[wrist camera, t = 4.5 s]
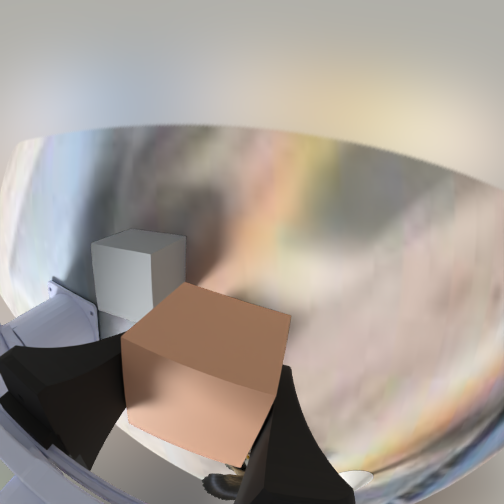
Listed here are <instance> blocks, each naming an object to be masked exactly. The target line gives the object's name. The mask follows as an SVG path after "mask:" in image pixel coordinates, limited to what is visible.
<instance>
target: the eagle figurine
mask: <svg viewBox="0 0 504 504" xmlns="http://www.w3.org/2000/svg"><path fill="white" fill-rule="evenodd" d="M244 461H245V463H246V466H247V464H248V461H249V455H248V454H247V456H246V458H245V460H244ZM225 465H226V467H228V468H229V469H231V470H233V471H234V472H235V473H236V474H237V475H231V474H227V475H222V474H209V475H208V476H207V477H205V478H204V479H203V480H202V482H203V483H204V484H203V487H204V488H205V490H206V491H207V493H209V494H211V495H213V496H214V497H218V498H219V499H220V498H221V499H222V500H235V499H236V496H237V494H238V491H239V488H240V485H241V482H242V479H243V476H244V473H245V471H244V470H241V469H238V468H235V467H234V466H231V465H228V464H225Z"/></svg>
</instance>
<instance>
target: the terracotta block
mask: <svg viewBox="0 0 504 504" xmlns="http://www.w3.org/2000/svg"><path fill="white" fill-rule="evenodd" d="M290 320H291V315H288V314H284V313H281V312H277V311H274V310H271V309H267V308H264V307H261V306H257V305H254V304H251V303H248V302H244V301H241V300H238V299H235V298H232V297H229V296H226V295H222V294H219V293H216V292H213V291H210V290H207V289H204V288H201V287H198V286H195V285H192V284H190V283H187V282H184V283H183V284H181V285H180V286H179V287H178V288H177V289H175V290H174V291H173V292H172V293H171V294H170V295H168V296H167V297H166V298H165V299H164V300H163V301H161V302H160V303H159V304H158V305H157V306H156V307H154V308H153V309H152V310H151V311H150V312H149V313H147V314H146V315H145V316H144V317H143V318H142V319H141V320H139V321H138V322H137V323H136V324H135V325H134V326H133V327H131V328H130V329H129V330H128V331H127V332H126V333H124V334H123V335H122V336H121V353H122V368H123V380H124V390H125V399H126V407H127V414H128V421H129V424H131V425H133V426H135V427H137V428H139V429H141V430H143V431H145V432H147V433H149V434H151V435H153V436H155V437H157V438H160V439H162V440H164V441H166V442H169V443H171V444H173V445H176V446H178V447H181V448H183V449H185V450H188V451H191V452H193V453H196V454H199V455H201V456H204V457H207V458H210V459H213V460H216V461H219V462H222V463H225V464H228V465H232V466H235V467H239V468H241V466H242V464H243V462H244V460H245V458H246V456H247V454H248V453H249V451H250V449H251V447H252V445H253V443H254V441H255V439H256V437H257V435H258V433H259V431H260V429H261V427H262V425H263V423H264V421H265V419H266V417H267V415H268V412H269V410H270V408H271V406H272V404H273V402H274V400H275V397H276V394H277V389H278V385H279V380H280V375H281V369H282V364H283V359H284V354H285V348H286V343H287V337H288V332H289V326H290Z"/></svg>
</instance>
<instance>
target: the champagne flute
mask: <svg viewBox="0 0 504 504" xmlns="http://www.w3.org/2000/svg"><path fill="white" fill-rule="evenodd" d="M338 474H339V475H340V476H341V477H342V478H343V479H344V480H345V481H346V482H347V483H348V484H349V485H350V486H351V487H352V488H353V490H354V491H356V490H358V489H359V488H361V487H363V486H365V485H366V484H368V483H369V482H371V481H372V479H373V474H371V473H370V472H367V471H347V472H342V473H338Z"/></svg>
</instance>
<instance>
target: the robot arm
mask: <svg viewBox="0 0 504 504" xmlns="http://www.w3.org/2000/svg"><path fill="white" fill-rule="evenodd" d="M48 291H49V299H48V300H47V301H45V302H43V303H41V304H39V305H38V306H36V307H34V308H32V309H31V310H29V311H27V312H25V313H24V314H22V315H20V316H18V317H17V318H15V319H13V320H12V321H10V322H9V323H7V324H5V325H1V324H0V459H1V460H2V461H3V462H4V463H5V465H6V466H8V468H9V469H10V470H11V471H12V472H13V473H14V474H15V476H13V478H12V479H11V480H10V481H9V482H8V483H7V484H6V485H5V486H4V488H3V489H2V490H1V491H0V504H105V503H103V502H101V501H100V500H98V499H96V498H95V497H93V496H92V495H90V494H88V493H87V492H85V491H84V490H82V489H81V488H80V487H78V486H77V485H75V484H74V483H72V482H71V481H70V480H68V479H67V478H66V477H64V475H63V473H62V472H61V471H60V470H62V471H63V472H64V473H66V474H67V475H68V476H70V477H71V478H72V479H74V480H75V481H77V482H78V483H80V484H81V485H82V486H84V487H86V488H87V489H88V490H90V491H92V492H93V493H95V494H96V495H98V496H99V497H101V498H103V499H104V500H106V501H108V502H110V503H111V504H148V503H146V502H144V501H142V500H140V499H137V498H136V497H134V496H132V495H130V494H128V493H126V492H124V491H122V490H120V489H118V488H117V487H115V486H113V485H111V484H110V483H108V482H106V481H104V480H103V479H101V478H100V477H98V476H97V475H95V474H93V473H92V472H90V470H91V468H92V466H93V464H94V461H95V460H96V457H97V455H98V453H99V451H100V450H101V448H102V446H103V444H104V442H105V440H106V438H107V436H108V435H109V433H110V431H111V430H112V428H113V427H114V425H115V423H116V422H117V420H118V419H119V417H120V416H121V414H122V412H123V411H124V410H125V408H126V399H125V390H124V380H123V368H122V353H121V336H122V335H123V334H124V333H126V332H127V331H126V332H123V333H121V334H118V335H115V336H112V337H109V338H106V339H102V340H99V331H98V318H97V308H96V306H95V305H94V304H93V303H91V302H89V301H87V300H85V299H83V298H82V297H80V296H78V295H76V294H74V293H72V292H71V291H69V290H67V289H65V288H64V287H62V286H60V285H58V284H57V283H55V282H53V281H52V280H50V281H48ZM52 463H53V464H52ZM57 467H58V468H59V469H60V470H59V469H58V468H57ZM234 504H355V496H354V490H353V488H352V487H351V486H350V485H349V484H348V483H347V482H346V481H345V480H344V479H343V478H342V477H341V476H340V475H339V474H338V473H337V471H336V470H335V469H334V468H333V467H332V465H331V464H330V463H329V461H328V460H327V458H326V457H325V455H324V454H323V452H322V451H321V449H320V448H319V446H318V444H317V443H316V441H315V439H314V437H313V435H312V433H311V431H310V429H309V427H308V425H307V423H306V420H305V418H304V415H303V413H302V410H301V407H300V404H299V401H298V398H297V394H296V391H295V386H294V382H293V377H292V370H291V368H290V366H286V365H283V364H282V369H281V375H280V380H279V385H278V389H277V394H276V397H275V400H274V402H273V404H272V406H271V408H270V410H269V412H268V415H267V417H266V419H265V421H264V423H263V425H262V427H261V429H260V431H259V433H258V435H257V437H256V439H255V441H254V443H253V445H252V448H251V453H250V457H249V461H248V464H247V467H246V470H245V473H244V476H243V479H242V482H241V485H240V488H239V491H238V494H237V496H236V499H235V502H234Z"/></svg>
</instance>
